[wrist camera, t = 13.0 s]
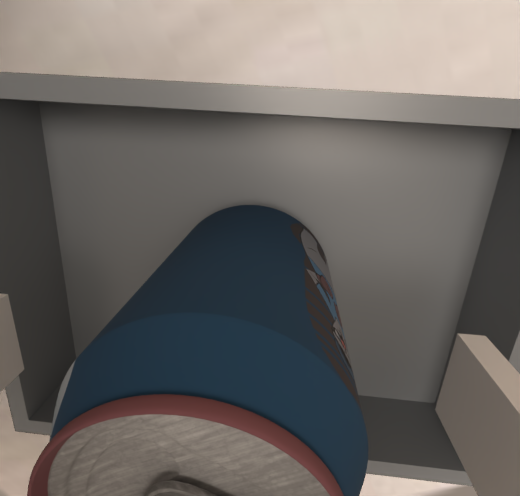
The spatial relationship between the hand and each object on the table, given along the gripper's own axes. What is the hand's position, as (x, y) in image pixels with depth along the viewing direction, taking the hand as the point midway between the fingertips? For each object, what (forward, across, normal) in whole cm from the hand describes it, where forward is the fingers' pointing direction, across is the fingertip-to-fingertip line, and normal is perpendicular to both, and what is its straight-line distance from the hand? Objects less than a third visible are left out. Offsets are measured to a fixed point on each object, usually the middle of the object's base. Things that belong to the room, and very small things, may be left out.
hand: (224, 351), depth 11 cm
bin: (+8, 0, 0) cm, 8 cm away
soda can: (+7, 0, 0) cm, 7 cm away
